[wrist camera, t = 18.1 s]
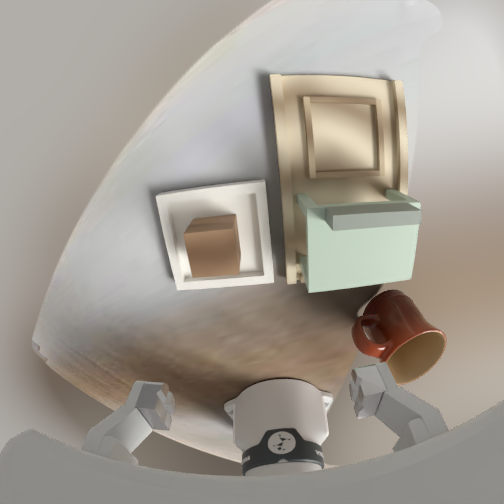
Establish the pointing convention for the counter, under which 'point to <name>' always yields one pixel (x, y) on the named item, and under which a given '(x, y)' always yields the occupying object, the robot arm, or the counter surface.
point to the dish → (218, 204)
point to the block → (213, 246)
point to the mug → (398, 336)
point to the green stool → (359, 242)
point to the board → (335, 146)
